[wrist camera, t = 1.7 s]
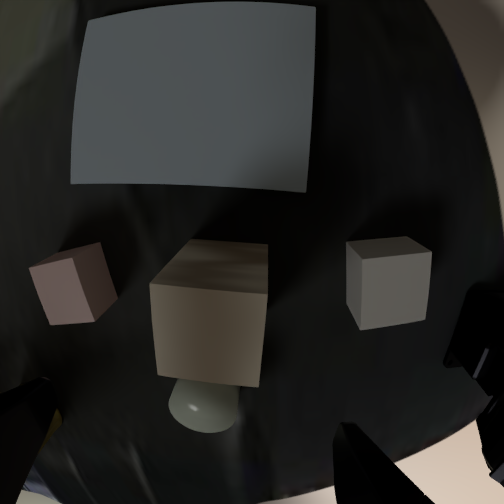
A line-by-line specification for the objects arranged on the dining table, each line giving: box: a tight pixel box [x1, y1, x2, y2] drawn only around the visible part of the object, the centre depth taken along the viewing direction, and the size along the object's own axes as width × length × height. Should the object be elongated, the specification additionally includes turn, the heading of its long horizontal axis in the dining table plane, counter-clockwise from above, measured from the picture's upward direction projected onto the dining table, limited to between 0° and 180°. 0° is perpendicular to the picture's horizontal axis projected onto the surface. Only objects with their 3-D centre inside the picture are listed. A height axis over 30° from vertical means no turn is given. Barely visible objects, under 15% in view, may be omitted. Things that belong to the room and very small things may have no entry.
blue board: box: [71, 2, 316, 193], centre depth 15 cm, size 14×11×1 cm
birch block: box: [150, 239, 268, 387], centre depth 15 cm, size 4×4×7 cm
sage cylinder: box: [169, 378, 240, 433], centre depth 19 cm, size 4×4×4 cm
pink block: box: [29, 242, 118, 325], centre depth 18 cm, size 4×4×4 cm
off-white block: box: [346, 236, 432, 330], centre depth 17 cm, size 4×4×4 cm
